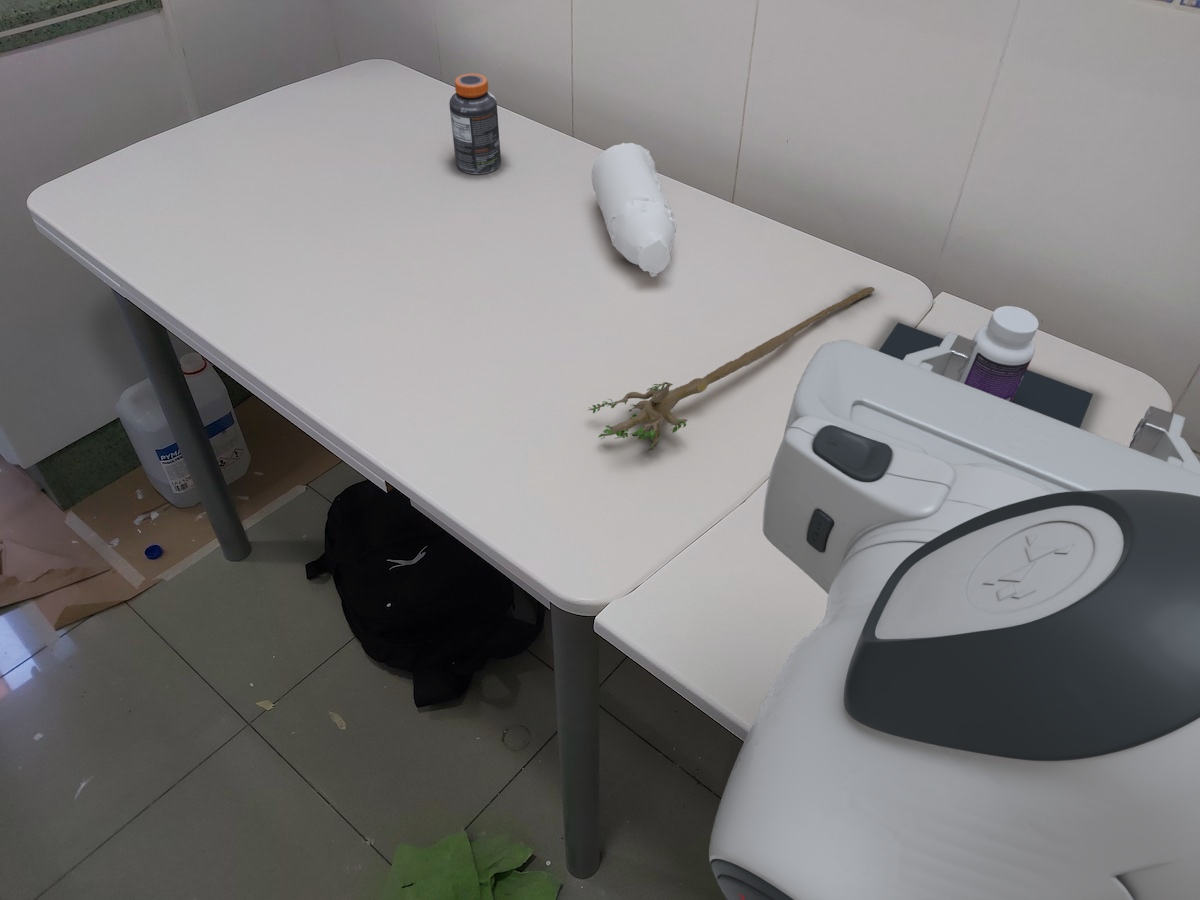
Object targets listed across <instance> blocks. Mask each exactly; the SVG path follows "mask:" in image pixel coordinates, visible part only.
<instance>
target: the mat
mask: <svg viewBox="0 0 1200 900" xmlns="http://www.w3.org/2000/svg"><path fill="white" fill-rule="evenodd" d="M943 340H944V338H942V337H939V336H937V335H934V334H931V333H929V332H926V331H924V330H920V329H918V328H915V327H912V326H909V325H907V324H904V323H902V322H899V321H898V322H897V323H896V325H895V326H894V328H893V329H892V330H891V332H890V333H889V335H888V337H887V338H886V339H885V341H884V342H883V344H882V345H881V347H880V349H879V350H878V351H879V352H882V353H884V354H887V355H889V356H892V357H895V358H897V359H900V360H902V361H903V359H904V358H905V356H906V355H907V354H911V353H914V352H918V351H921V350H925V349H928V348H932V347H935V346H938V347H939V346H940V344H941V343H942V341H943ZM1093 394H1094V393H1091V392H1089V391H1087V390H1083V389H1080V388H1078V387H1076V386H1073V385H1070V384H1067V383H1065V382H1063V381H1060V380H1056V379H1054V378H1052V377H1049V376H1045V375H1042V374H1040V373H1038V372H1036V371H1035V372H1034V371H1032V370H1030V369H1027V370H1026V372H1025V374H1024V377H1023V378H1022V381H1021V383H1020V385H1019V387H1018V389H1017V391H1016V393H1015V395H1014V398H1013V400H1012V403H1015V404H1017V405H1020V406H1022V407H1025V408H1028V409H1030V410H1033V411H1035V412H1038V413H1041V414H1043V415H1046V416H1048V417H1051V418H1054V419H1056V420H1059V421H1061V422H1064V423H1067V424H1069V425H1072V426H1074V427H1077V428H1080V429H1081V426H1082V423H1083V420H1084V418H1085V415H1086V413H1087V410H1088V408H1089V405H1090V403H1091V400H1092V398H1093V396H1094V395H1093Z"/></svg>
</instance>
